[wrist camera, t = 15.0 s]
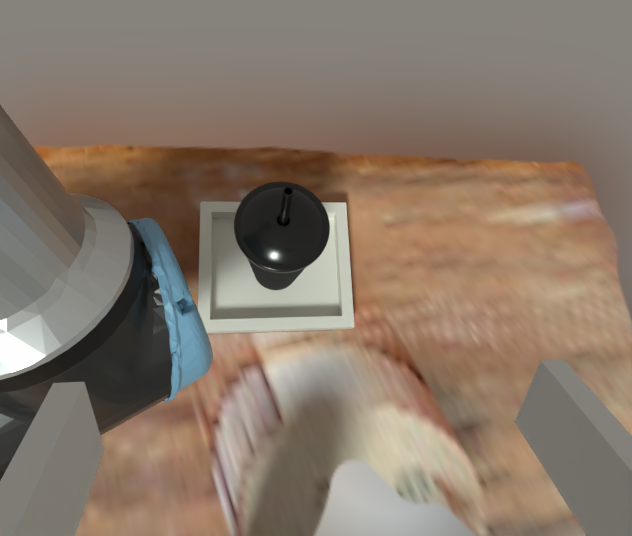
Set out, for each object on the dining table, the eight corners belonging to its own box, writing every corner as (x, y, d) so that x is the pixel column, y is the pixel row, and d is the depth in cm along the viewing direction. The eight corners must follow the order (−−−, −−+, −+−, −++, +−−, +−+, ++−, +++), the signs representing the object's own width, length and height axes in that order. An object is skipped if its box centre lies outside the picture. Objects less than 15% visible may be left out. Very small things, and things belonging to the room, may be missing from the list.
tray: (200, 334, 45) (197, 331, 43) (203, 210, 49) (200, 201, 46) (349, 329, 48) (354, 326, 45) (342, 210, 51) (346, 202, 49)
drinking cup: (236, 240, 48) (222, 143, 28) (304, 232, 49) (335, 135, 30) (244, 307, 46) (236, 253, 27) (314, 298, 47) (355, 239, 28)
